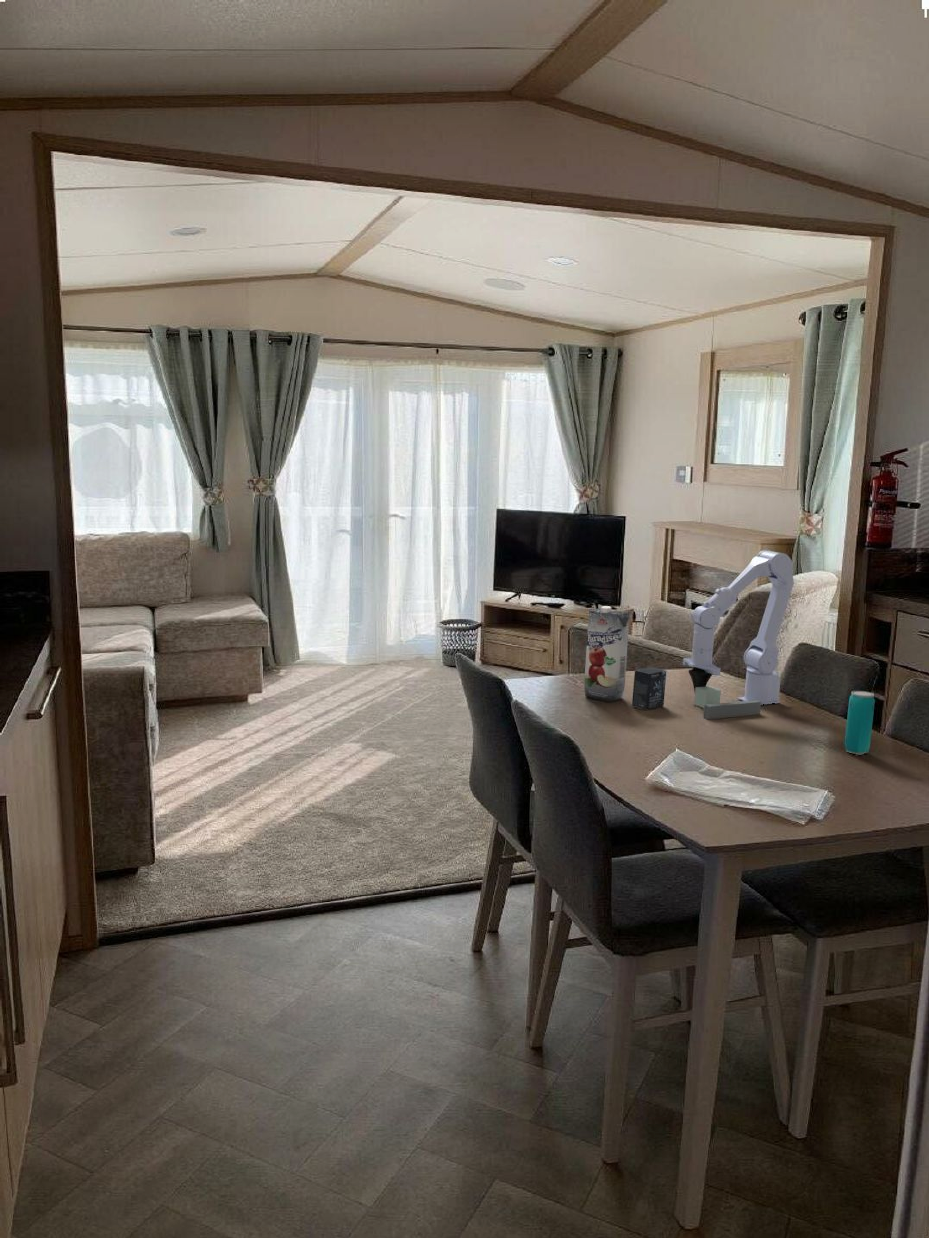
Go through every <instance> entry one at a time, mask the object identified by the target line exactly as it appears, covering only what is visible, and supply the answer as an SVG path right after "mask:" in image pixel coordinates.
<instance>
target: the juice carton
mask: <svg viewBox="0 0 929 1238" xmlns="http://www.w3.org/2000/svg"><path fill="white" fill-rule="evenodd" d="M629 624H630V611H627V610H614V609H612V606H608V605H603V606H601V607H598V608H595V609H591V610H589V612H588V622H587V632H586V633H587V634H586V635H587V636H586V650H585V651H586V652H585V653H586V654H585V668H584V696H585V698H588V697H591V698H590V699H593V698H595V699H594V700H598V699H599V701H604V702H609V703H613V702H614V701H617V700H620V699H622V698H623V696H624V695H623V694H624V691H625V686H626V673H627V672H626V671H627V661H628V660H627V658H628V643H629V642H628V641H629V627H630V625H629ZM619 698H620V699H619Z"/></svg>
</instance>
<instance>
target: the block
mask: <svg viewBox="0 0 929 1238" xmlns="http://www.w3.org/2000/svg"><path fill="white" fill-rule="evenodd" d="M721 693H722V690H721V689H718V688H716V687H713V686H709V685H708V686H707V685H706V687H695V692H694V702H693V703H694V704H693V705H695V706H697V707H700V708H702V709H704V705H708V704H719V703H721Z"/></svg>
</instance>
